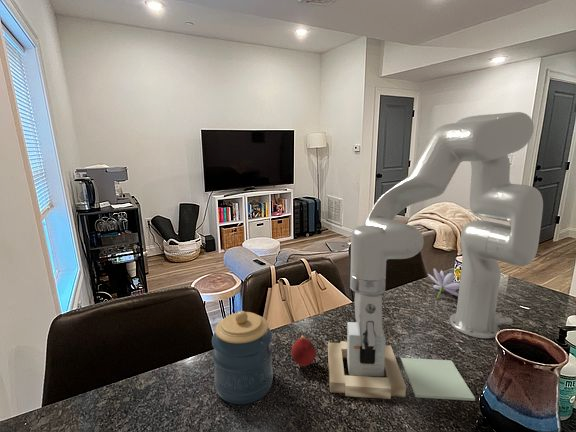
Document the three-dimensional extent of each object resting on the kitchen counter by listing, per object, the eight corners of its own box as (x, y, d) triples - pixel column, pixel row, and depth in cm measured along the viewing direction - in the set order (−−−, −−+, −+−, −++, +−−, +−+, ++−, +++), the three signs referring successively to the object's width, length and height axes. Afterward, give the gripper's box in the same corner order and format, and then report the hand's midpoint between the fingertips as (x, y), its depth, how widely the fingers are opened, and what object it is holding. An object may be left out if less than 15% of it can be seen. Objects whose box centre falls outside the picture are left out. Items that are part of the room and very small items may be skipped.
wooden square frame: (389, 352, 81) (390, 343, 81) (406, 399, 66) (407, 389, 65) (327, 349, 83) (328, 340, 82) (330, 395, 67) (330, 384, 67)
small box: (379, 361, 77) (381, 322, 74) (384, 377, 71) (386, 336, 69) (346, 359, 77) (347, 321, 75) (348, 375, 72) (349, 334, 70)
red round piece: (317, 360, 78) (318, 331, 77) (312, 376, 73) (312, 345, 71) (295, 355, 80) (295, 327, 78) (288, 370, 75) (288, 340, 73)
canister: (249, 356, 80) (247, 292, 76) (285, 383, 71) (284, 311, 67) (203, 383, 71) (198, 311, 67) (237, 417, 62) (233, 337, 58)
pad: (451, 362, 77) (451, 360, 77) (475, 400, 65) (475, 398, 65) (400, 359, 78) (400, 357, 78) (415, 397, 67) (415, 394, 66)
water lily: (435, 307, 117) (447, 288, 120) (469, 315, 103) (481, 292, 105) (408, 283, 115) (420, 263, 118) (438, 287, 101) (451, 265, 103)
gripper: (394, 300, 61) (389, 381, 65) (377, 267, 78) (375, 332, 81) (354, 299, 62) (352, 379, 66) (346, 266, 78) (345, 332, 82)
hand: (365, 353), depth 73 cm, fingers closed on small box, 5 cm apart
